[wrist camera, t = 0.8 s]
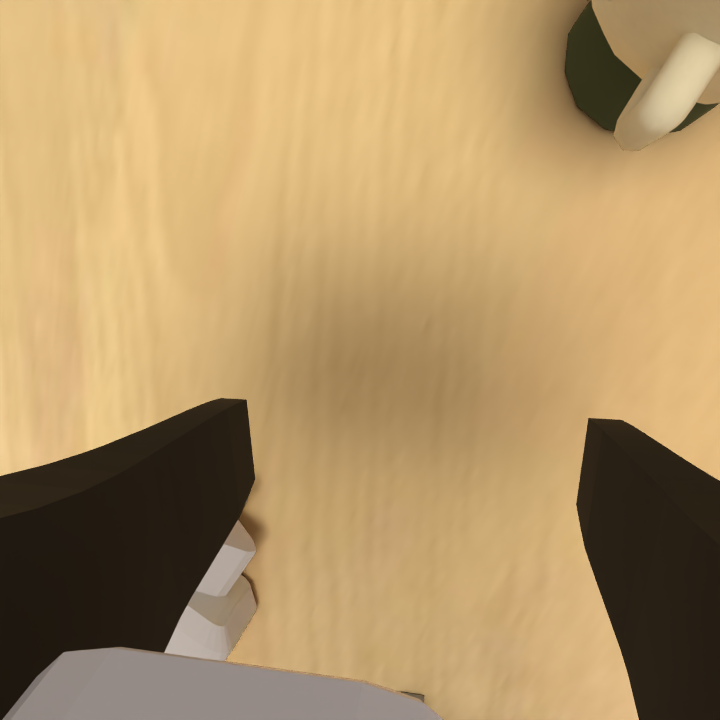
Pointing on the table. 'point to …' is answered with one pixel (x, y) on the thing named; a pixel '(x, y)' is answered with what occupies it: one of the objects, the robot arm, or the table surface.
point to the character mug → (645, 65)
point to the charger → (218, 603)
